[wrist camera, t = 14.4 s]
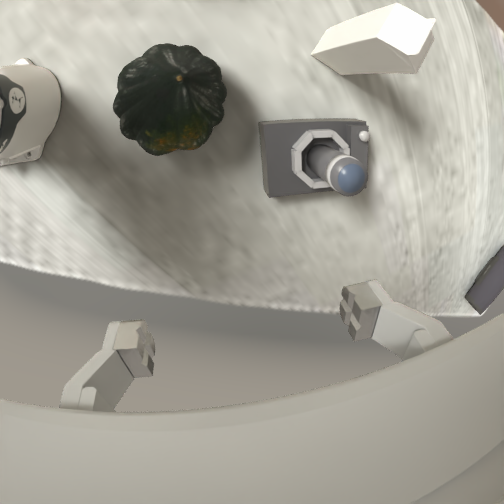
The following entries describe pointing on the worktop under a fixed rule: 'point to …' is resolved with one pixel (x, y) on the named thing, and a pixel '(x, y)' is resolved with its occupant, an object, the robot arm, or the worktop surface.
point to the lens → (337, 169)
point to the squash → (170, 99)
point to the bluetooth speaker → (488, 283)
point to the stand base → (305, 151)
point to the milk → (377, 42)
